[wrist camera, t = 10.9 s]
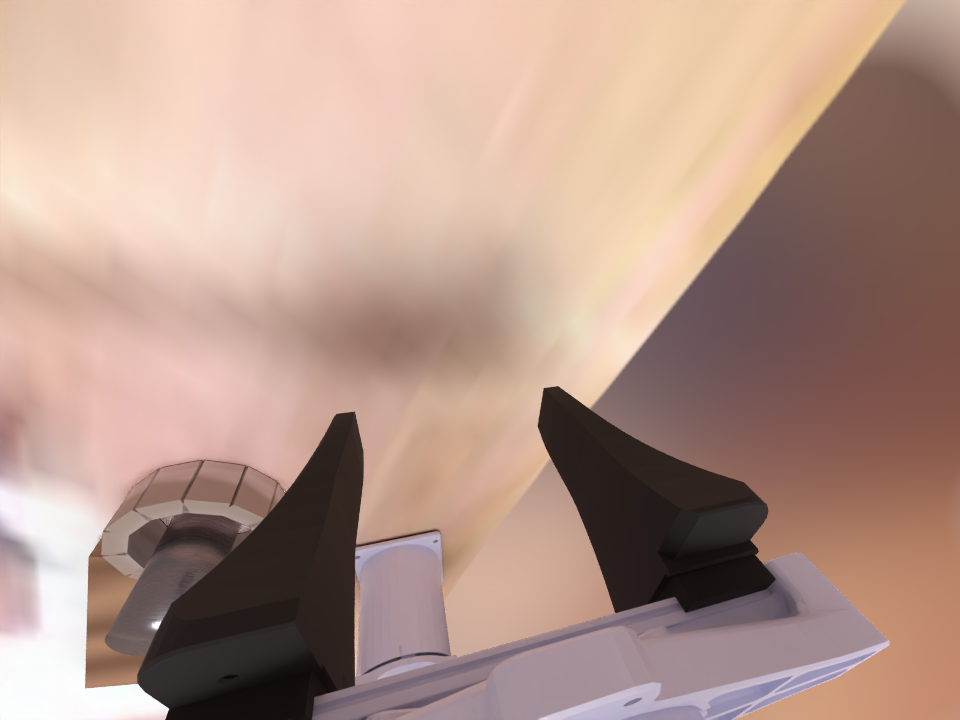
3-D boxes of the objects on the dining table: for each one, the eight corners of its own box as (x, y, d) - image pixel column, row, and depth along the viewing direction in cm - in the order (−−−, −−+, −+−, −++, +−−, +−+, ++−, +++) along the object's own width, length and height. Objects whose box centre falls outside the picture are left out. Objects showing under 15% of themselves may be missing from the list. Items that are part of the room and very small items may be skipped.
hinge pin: (254, 519, 27) (210, 644, 20) (195, 529, 26) (129, 662, 20) (235, 484, 25) (179, 612, 18) (170, 494, 24) (87, 631, 17)
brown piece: (245, 657, 38) (236, 693, 35) (96, 667, 32) (73, 711, 30) (320, 475, 26) (314, 511, 24) (107, 447, 21) (72, 489, 19)
